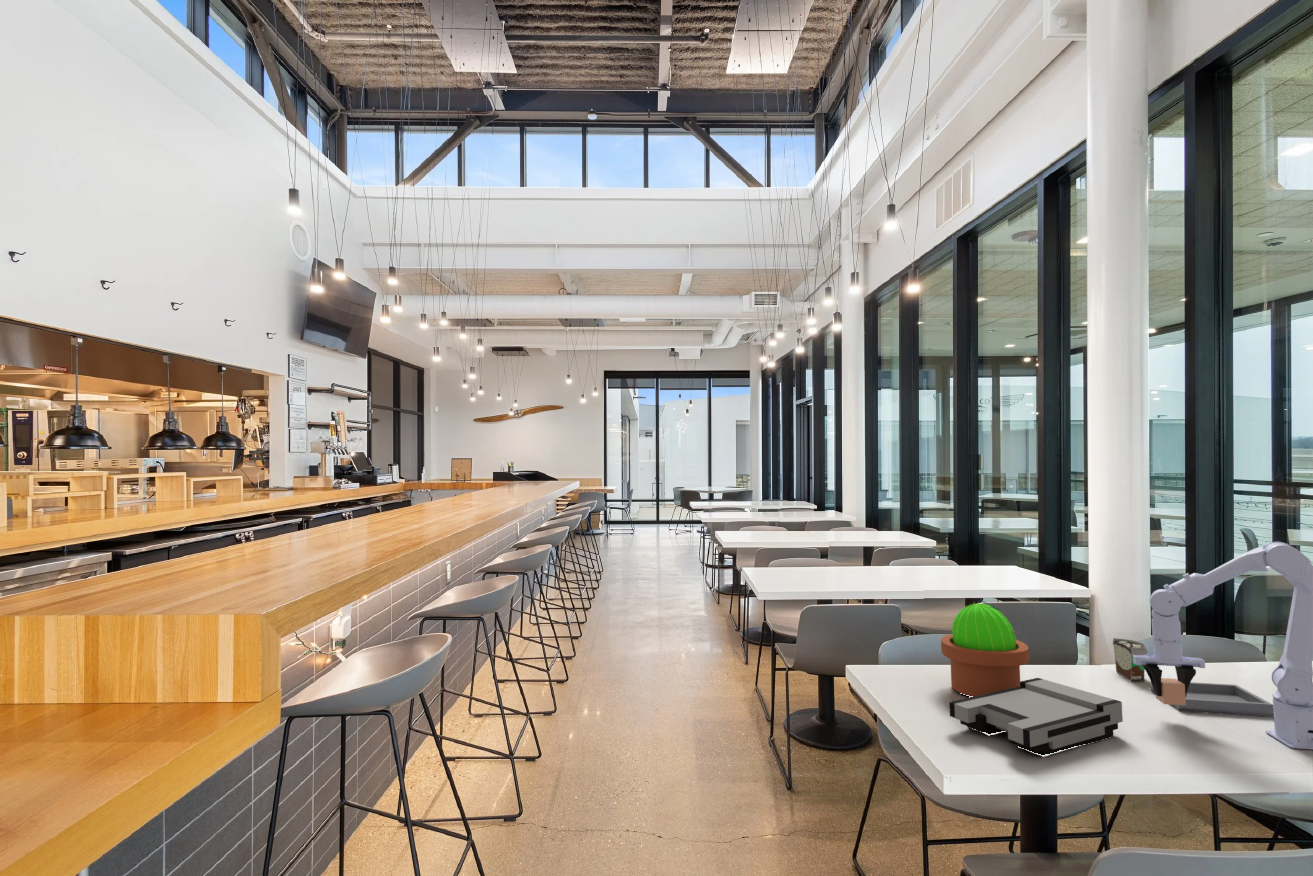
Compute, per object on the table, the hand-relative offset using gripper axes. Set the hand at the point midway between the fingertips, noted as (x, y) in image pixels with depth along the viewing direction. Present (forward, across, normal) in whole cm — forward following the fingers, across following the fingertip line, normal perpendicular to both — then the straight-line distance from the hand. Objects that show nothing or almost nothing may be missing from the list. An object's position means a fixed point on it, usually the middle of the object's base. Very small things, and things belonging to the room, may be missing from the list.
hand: (1170, 695), depth 165 cm
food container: (+6, -6, -37) cm, 38 cm away
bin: (+6, -15, -16) cm, 23 cm away
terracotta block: (+1, 0, 0) cm, 1 cm away
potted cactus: (+6, +39, -14) cm, 42 cm away
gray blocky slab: (+6, +34, +16) cm, 38 cm away
